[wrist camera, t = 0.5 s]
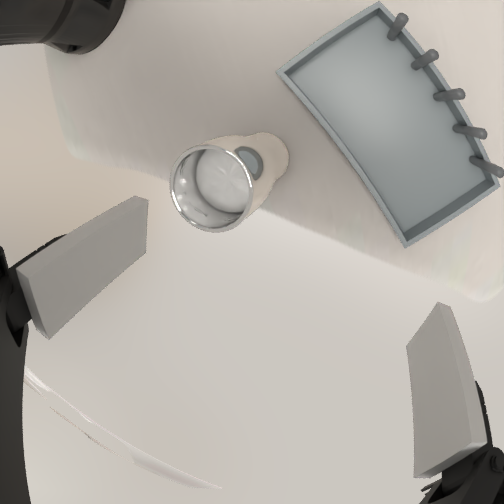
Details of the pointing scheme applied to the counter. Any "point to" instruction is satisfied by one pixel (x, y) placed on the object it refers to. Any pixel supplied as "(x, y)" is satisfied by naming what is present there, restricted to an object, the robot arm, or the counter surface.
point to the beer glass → (226, 179)
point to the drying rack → (395, 121)
